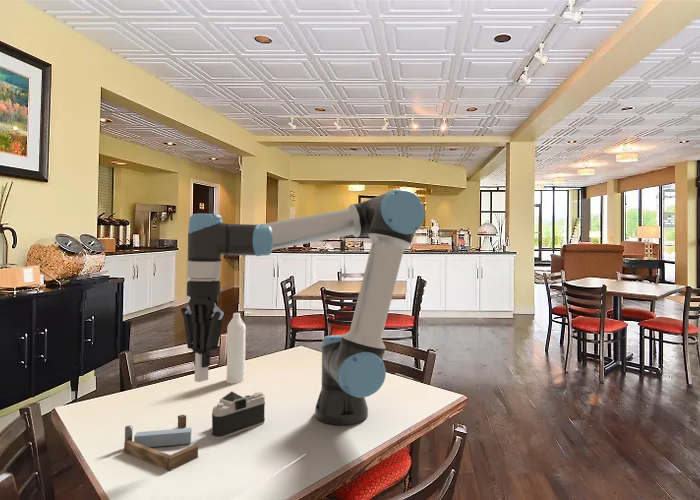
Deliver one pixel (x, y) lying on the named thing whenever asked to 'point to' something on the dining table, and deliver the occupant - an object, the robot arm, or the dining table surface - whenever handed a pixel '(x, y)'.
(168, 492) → the dining table surface
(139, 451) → the back rail
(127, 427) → the pivot pin
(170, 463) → the left rail
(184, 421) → the stop block
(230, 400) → the camera
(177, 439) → the leg bar
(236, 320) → the water bottle
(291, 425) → the dining table surface
